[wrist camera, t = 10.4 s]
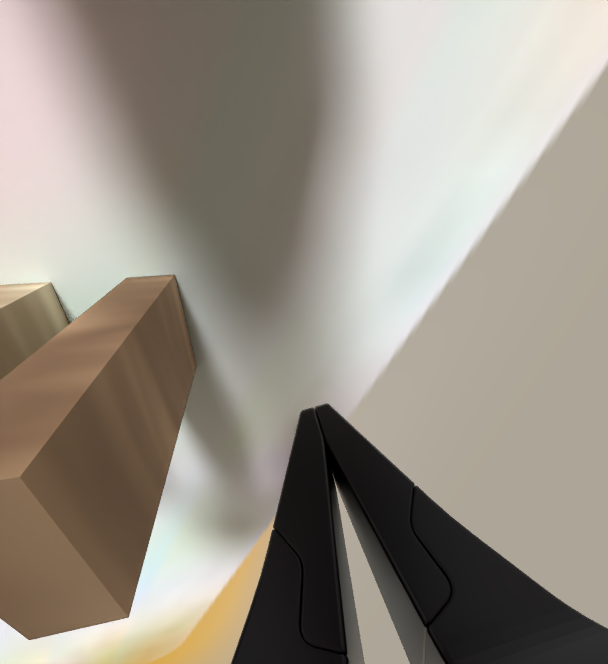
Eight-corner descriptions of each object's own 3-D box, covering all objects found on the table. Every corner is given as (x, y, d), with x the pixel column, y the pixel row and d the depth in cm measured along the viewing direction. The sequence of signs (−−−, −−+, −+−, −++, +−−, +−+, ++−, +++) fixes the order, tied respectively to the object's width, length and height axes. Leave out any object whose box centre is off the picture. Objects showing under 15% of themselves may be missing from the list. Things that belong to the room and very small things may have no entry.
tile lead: (174, 274, 13) (19, 476, 4) (196, 366, 15) (128, 617, 6) (126, 277, 12) (-152, 503, 4) (156, 370, 15) (29, 639, 6)
